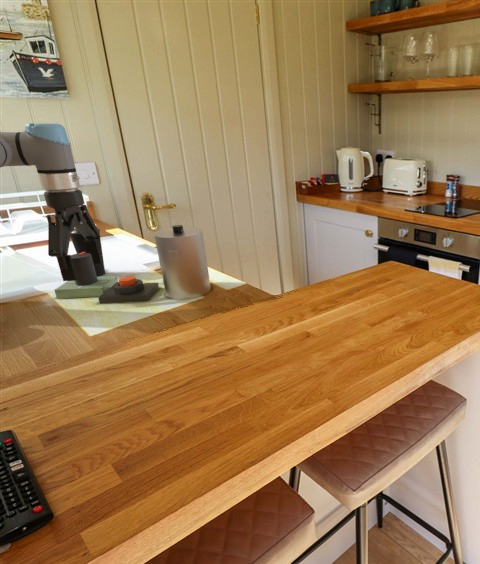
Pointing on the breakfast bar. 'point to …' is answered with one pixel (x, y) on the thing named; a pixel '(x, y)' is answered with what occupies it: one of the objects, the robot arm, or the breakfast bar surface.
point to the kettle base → (129, 292)
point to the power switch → (127, 281)
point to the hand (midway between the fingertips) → (83, 271)
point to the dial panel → (85, 288)
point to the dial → (84, 268)
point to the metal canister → (183, 262)
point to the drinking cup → (80, 247)
